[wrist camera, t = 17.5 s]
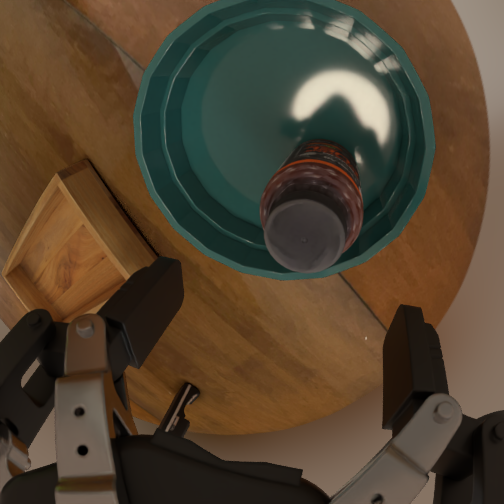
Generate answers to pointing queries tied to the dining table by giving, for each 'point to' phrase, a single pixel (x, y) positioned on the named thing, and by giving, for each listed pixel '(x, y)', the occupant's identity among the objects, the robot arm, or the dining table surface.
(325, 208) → the supplement bottle
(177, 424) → the battery charger
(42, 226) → the tray
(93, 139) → the dining table surface
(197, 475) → the robot arm
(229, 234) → the bowl
